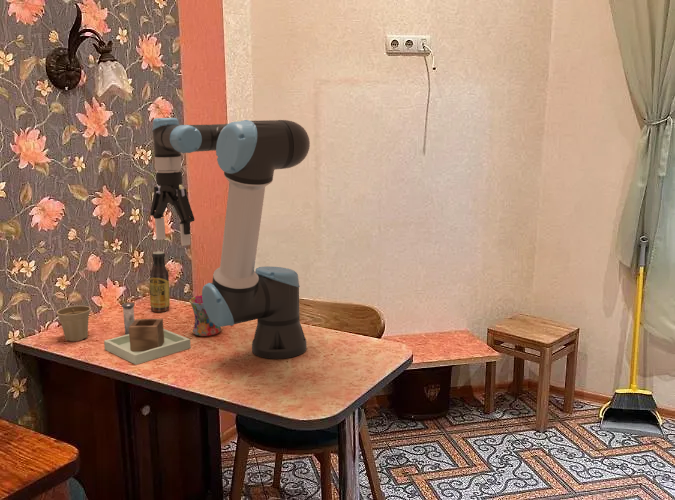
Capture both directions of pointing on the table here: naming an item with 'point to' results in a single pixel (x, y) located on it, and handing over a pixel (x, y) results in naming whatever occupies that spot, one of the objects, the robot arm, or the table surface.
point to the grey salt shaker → (128, 315)
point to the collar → (146, 334)
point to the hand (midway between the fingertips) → (173, 242)
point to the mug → (202, 319)
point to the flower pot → (74, 322)
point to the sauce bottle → (159, 284)
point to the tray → (170, 346)
